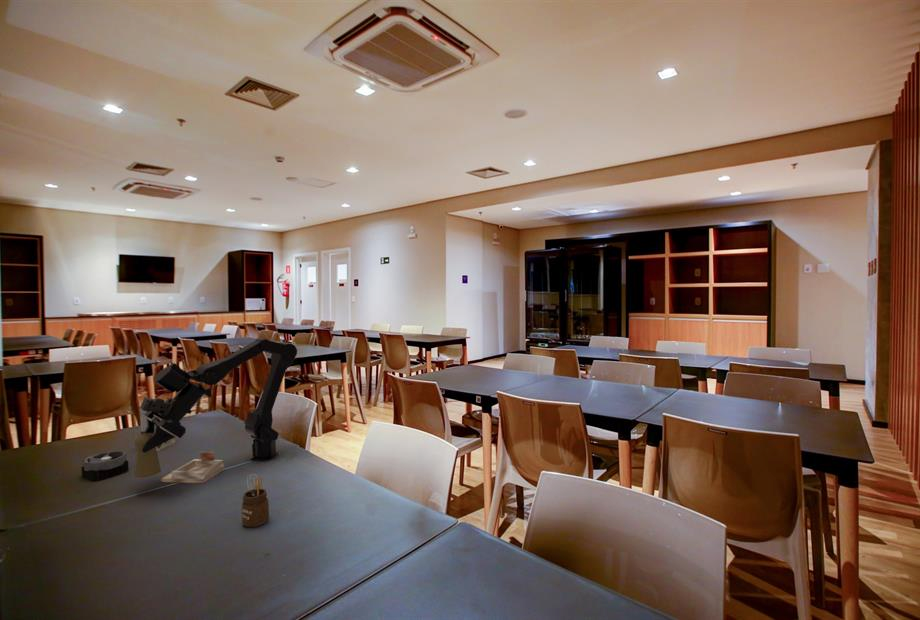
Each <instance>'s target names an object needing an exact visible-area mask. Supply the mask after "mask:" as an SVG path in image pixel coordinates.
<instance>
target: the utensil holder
mask: <svg viewBox="0 0 920 620" xmlns="http://www.w3.org/2000/svg"><path fill="white" fill-rule="evenodd" d="M254 475H255V476H254ZM251 476H253V479H254V483H253V485H254V489H253V488H252V489H249V490H248V491H246V492H244V493H243V495H242V503H241V523H242V525H243V526H244V527H247V528H255V527H259V526H261V525H264V524H265V523H266V522H268V520H269V518H270V511H269V510H270V507H269V506H270V504H269V498H268V497H267V495H268V494H267V490H266V489H265V488H262V487H263V475H260V476H258V477H257V474H255V473H251V474H249V475H247V479H246V480H247V481H246V483H247V484H249V478H250V477H251ZM249 485H250V486H249ZM249 485H247V488H250V487H253V486H252V484H249Z"/></svg>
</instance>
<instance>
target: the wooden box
mask: <svg viewBox="0 0 920 620" xmlns="http://www.w3.org/2000/svg"><path fill="white" fill-rule="evenodd" d="M224 470H225V466H224V459H215V451H201V452H200V459H196V458H194V459H192V460H190V461H188V462H186V463H185V464H183V465H182V466H180V467H178V468H176V469H174V470H172V471H171V473H169V474H167V475H165V476H163V477H162V478H160V481H161V483H180V484H181V483H184V484H185V483H187V484H188V483H189V484H204V483H205V482H207V481H209V480H210V479H211V478H213V477H215V476H216V475H217V474H219V473H221V472H222V471H224Z"/></svg>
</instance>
